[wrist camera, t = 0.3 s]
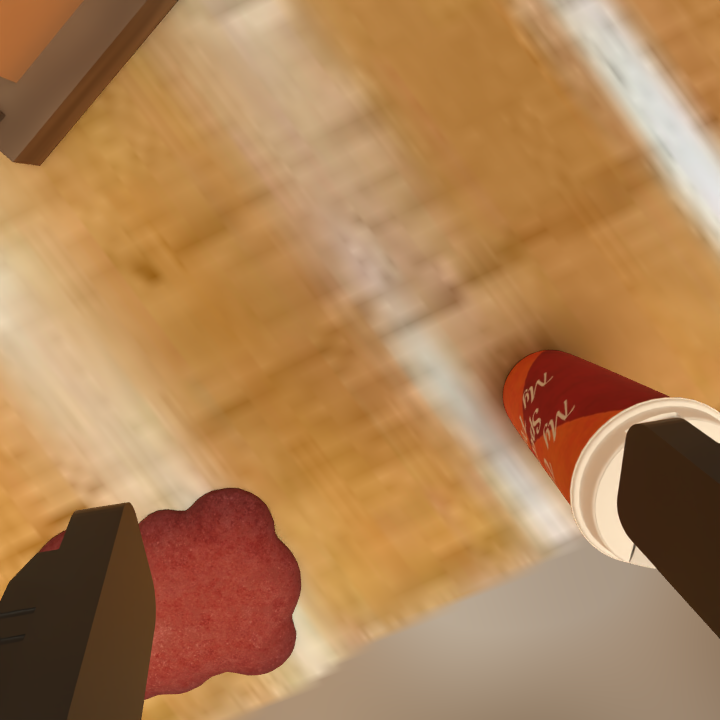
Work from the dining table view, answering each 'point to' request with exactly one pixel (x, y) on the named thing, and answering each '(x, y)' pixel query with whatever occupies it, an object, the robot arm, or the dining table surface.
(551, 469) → the paper cup
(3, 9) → the block
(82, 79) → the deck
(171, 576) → the patty
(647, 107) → the dining table surface
